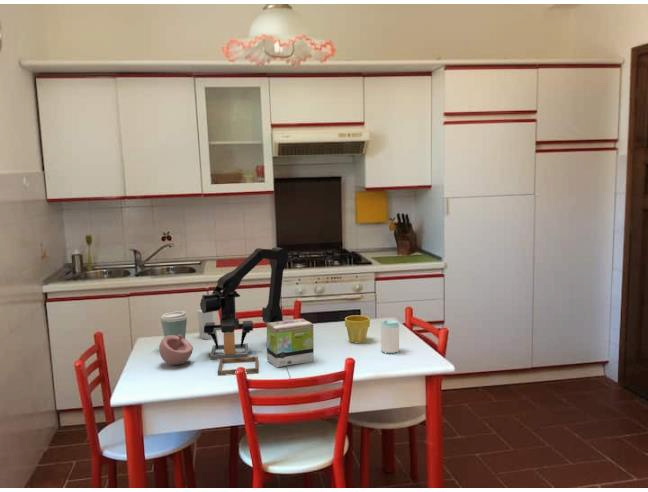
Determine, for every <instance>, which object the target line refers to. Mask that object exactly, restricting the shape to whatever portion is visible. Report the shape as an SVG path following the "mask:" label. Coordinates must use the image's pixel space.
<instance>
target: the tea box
mask: <svg viewBox="0 0 648 492" xmlns="http://www.w3.org/2000/svg"><path fill="white" fill-rule="evenodd" d="M266 361H268V362H269V363H270V364H271V365H272V366H274V367H275V368H281V367H284V366H285V367H286V366H292V365H298V364H306V363H312V362H314V323H312V322H310V321H308V320H306V319H304V318H294V319H286V320H283V321H279V322H271V323H267V325H266Z"/></svg>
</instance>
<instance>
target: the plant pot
mask: <svg viewBox="0 0 648 492" xmlns="http://www.w3.org/2000/svg"><path fill="white" fill-rule="evenodd" d="M344 325H345V327H346V332H347V337H348V342H350V343H351V342H364V341H365V342H366V339H367V335H368V330H369V328H370V327H371V326H370V325H371V318H370V317H368V316H366V315H361V314H360V315H357V314H356V315H349V316H346V317H345V318H344ZM365 342H364V343H365Z"/></svg>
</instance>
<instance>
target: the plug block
mask: <svg viewBox="0 0 648 492" xmlns="http://www.w3.org/2000/svg"><path fill="white" fill-rule="evenodd" d="M235 337H236V336H235V331H234V332H225V333H223V345H224V349H223V354H236V348H235V344H236V343H235V342H236V340H235V339H236V338H235Z"/></svg>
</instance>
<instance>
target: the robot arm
mask: <svg viewBox="0 0 648 492" xmlns="http://www.w3.org/2000/svg"><path fill="white" fill-rule="evenodd" d="M264 259H266V260H268V262H269V265H270V268H271V272H270V280H269V281H270V282H269V291H268V292H269V293H268V299H267V300H268V301H267V305H266V306H264V307H262V312H261V316H260V317H261V318H262V322H263V323H264V324H265V325H266V326H267V323H271V322H279V321H284V320H283V311H282V309H281V296H282V288H283V287H282V286H283V277H284V270H285V268H286V266H287V265H288V263H289V259H290V253H289V252H288V250H287V249H285V248H284V247H283V248H282V247H277V246H274V247H272V248H271V249H270V248H261V247H257V248H255V249H254V251H253V252H252V253H251V254H250V255H249V256H248V257H246V259H245V260H243V261H242V262H241V263H240V264H239V265H238V266H237V267H236V268H235V269H233V270H232V271H230V272H227V273H225V274H224V275H222V276H221V277H219V279H217V284H216V286H215V287H214V289H213V291H212V292H211V293H212V294H210V293H209V294H202V295H201V297H202V298H201V299H200V302H199V306H200V310H201V311H202V312H203V313H208V312H212V313H213V312H214V313H215V312H219V310H220V321H219V323H220V324H216V322H214V321H213V322H211V323H206V324H205V325H204V333H208V335H211V337H212V340H213V342H214V345H216V347H217V349H216V350H219V349H218V345H219V341H218V334H217V331H218V330H221V333H223V334H224V333H225V332H234V333H235V330H237V329H240V330H241V340H240V344H241V348H240V349H243V348H242V346H243V344H244V342H245V338H246V336H247V334H250V332H252V331H254V322H253V320H243V321H242V323H240V319H239V318H237V314H236V298H239V297H241V295H240V294H239V293H238V292H237V289H238V288H239V286H240V284H241V283H242V280H243V279H244V278H245V277H246V276H247V275H248V274H249V273H250V272H251V271H253V269H254V268H255V267H256V266H258V265H259V263H260V262H262V261H263V260H264Z"/></svg>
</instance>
